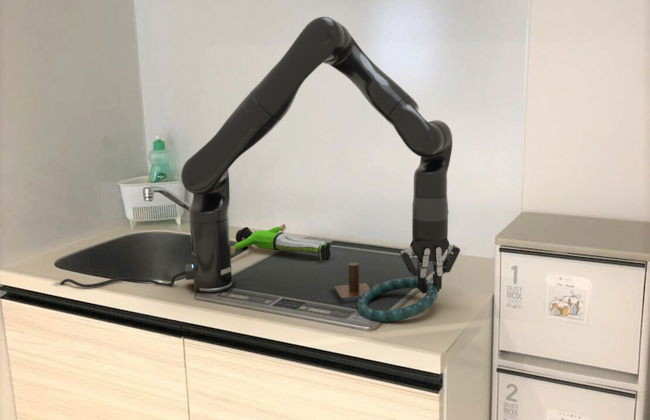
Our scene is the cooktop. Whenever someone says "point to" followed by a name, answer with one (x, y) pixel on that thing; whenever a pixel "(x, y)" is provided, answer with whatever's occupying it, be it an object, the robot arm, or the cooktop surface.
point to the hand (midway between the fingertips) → (429, 291)
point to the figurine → (280, 242)
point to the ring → (396, 313)
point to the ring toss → (352, 283)
